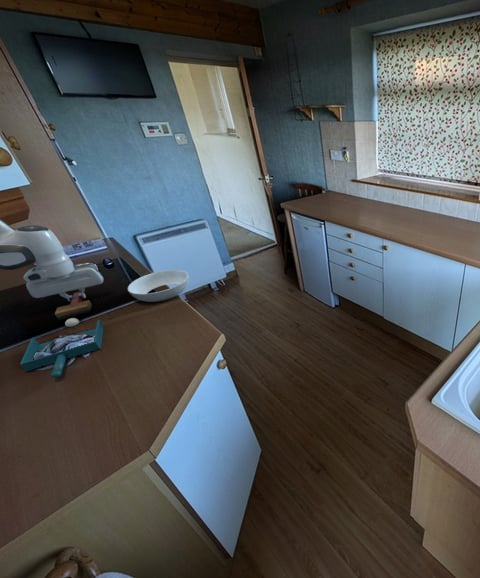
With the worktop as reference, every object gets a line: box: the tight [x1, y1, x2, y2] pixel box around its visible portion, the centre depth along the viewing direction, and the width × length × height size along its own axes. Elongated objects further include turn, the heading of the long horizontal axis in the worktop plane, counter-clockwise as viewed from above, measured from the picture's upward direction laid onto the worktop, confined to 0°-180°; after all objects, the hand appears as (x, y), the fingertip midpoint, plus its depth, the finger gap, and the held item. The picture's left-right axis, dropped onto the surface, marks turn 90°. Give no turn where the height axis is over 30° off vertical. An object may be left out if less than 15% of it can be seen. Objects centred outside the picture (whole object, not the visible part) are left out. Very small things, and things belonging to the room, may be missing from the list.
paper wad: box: [64, 317, 80, 329], centre depth 105 cm, size 4×4×4 cm
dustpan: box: [19, 319, 105, 379], centre depth 92 cm, size 24×17×3 cm
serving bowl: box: [127, 269, 190, 303], centre depth 123 cm, size 21×21×7 cm
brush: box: [54, 291, 93, 320], centre depth 114 cm, size 15×9×4 cm, turn 36°
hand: (77, 299), depth 116 cm, fingers closed on brush, 2 cm apart
